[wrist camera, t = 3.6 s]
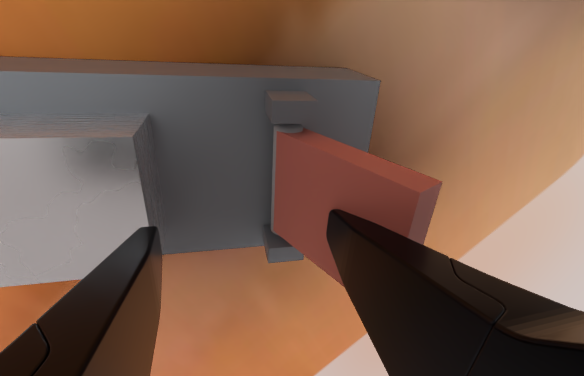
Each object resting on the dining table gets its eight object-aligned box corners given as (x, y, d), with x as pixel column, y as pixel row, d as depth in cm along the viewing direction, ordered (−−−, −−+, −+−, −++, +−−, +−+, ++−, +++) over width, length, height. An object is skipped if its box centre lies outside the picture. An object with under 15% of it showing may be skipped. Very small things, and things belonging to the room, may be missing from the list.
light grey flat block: (149, 113, 10) (132, 136, 8) (166, 229, 12) (157, 271, 10) (-76, 112, 9) (-162, 140, 7) (-13, 242, 11) (-66, 293, 9)
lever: (290, 119, 11) (443, 178, 7) (285, 219, 13) (404, 305, 9) (268, 123, 11) (421, 188, 7) (265, 226, 13) (384, 321, 9)
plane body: (346, 68, 14) (410, 91, 10) (329, 200, 18) (371, 267, 13) (-118, 52, 11) (-376, 77, 6) (-33, 222, 14) (-160, 325, 9)
